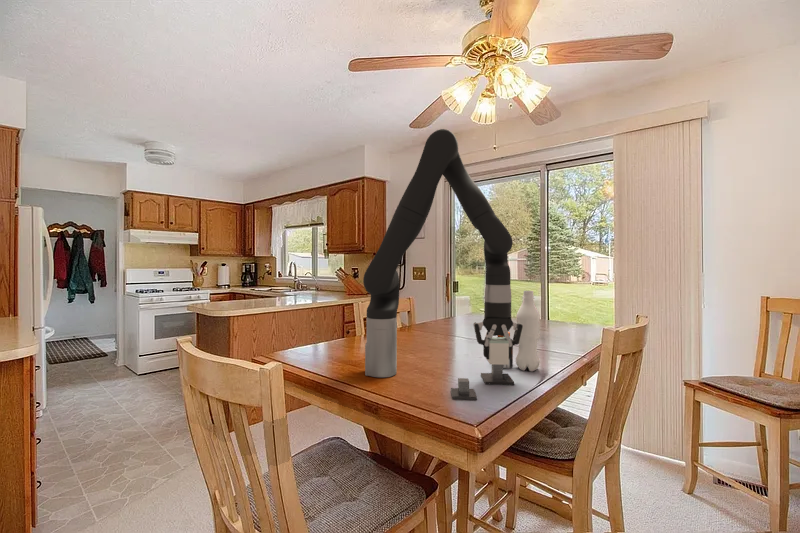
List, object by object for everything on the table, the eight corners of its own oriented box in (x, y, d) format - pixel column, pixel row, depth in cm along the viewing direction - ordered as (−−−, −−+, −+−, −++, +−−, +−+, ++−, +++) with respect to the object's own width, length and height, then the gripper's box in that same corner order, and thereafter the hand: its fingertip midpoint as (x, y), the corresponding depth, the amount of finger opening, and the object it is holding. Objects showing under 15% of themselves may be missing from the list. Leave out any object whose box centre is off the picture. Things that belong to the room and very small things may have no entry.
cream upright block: (489, 364, 106) (490, 341, 106) (486, 359, 111) (486, 337, 111) (508, 364, 106) (508, 341, 105) (504, 359, 111) (504, 337, 111)
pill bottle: (513, 369, 120) (513, 333, 120) (494, 368, 121) (494, 333, 121) (511, 364, 126) (512, 330, 125) (493, 363, 127) (493, 329, 127)
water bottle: (514, 370, 118) (515, 291, 117) (516, 365, 124) (517, 289, 124) (539, 373, 115) (540, 292, 115) (539, 367, 122) (540, 290, 121)
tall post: (485, 384, 105) (485, 359, 105) (480, 375, 113) (480, 352, 113) (514, 385, 104) (514, 360, 104) (507, 376, 112) (508, 353, 112)
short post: (452, 399, 93) (452, 383, 93) (450, 391, 99) (450, 376, 99) (476, 400, 93) (477, 384, 93) (473, 391, 99) (473, 376, 99)
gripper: (474, 301, 105) (474, 362, 105) (526, 301, 104) (526, 362, 104) (470, 298, 112) (470, 355, 113) (519, 299, 111) (519, 356, 112)
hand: (497, 358), depth 108 cm, fingers closed on cream upright block, 5 cm apart
